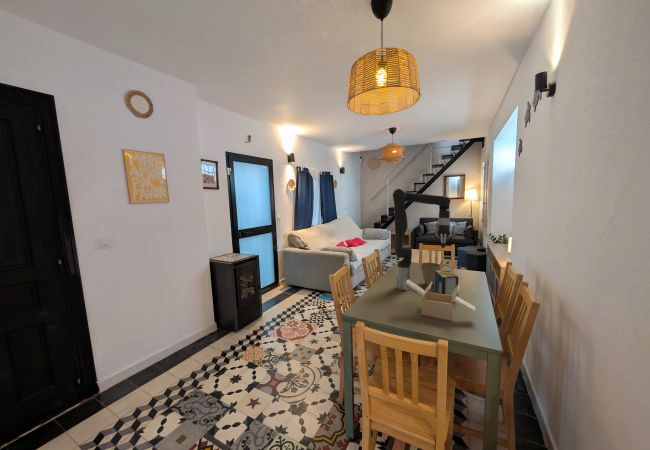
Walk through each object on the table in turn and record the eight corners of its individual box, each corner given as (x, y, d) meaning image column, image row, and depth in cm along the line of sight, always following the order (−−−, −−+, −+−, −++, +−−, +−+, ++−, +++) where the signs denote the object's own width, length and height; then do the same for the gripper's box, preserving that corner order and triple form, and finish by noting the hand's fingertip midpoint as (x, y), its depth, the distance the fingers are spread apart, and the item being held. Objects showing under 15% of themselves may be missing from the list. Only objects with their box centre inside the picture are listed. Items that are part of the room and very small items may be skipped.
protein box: (449, 290, 185) (449, 270, 183) (458, 299, 169) (458, 277, 168) (434, 290, 186) (435, 270, 184) (441, 299, 170) (442, 276, 169)
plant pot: (434, 280, 207) (435, 262, 205) (444, 287, 192) (444, 267, 190) (416, 281, 206) (417, 262, 204) (425, 288, 191) (425, 267, 189)
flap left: (422, 298, 147) (403, 285, 151) (425, 291, 159) (407, 278, 163) (430, 288, 144) (410, 275, 149) (432, 281, 156) (414, 269, 160)
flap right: (458, 291, 137) (482, 304, 133) (458, 283, 149) (480, 295, 144) (451, 302, 140) (474, 315, 135) (451, 293, 151) (473, 305, 147)
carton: (421, 315, 148) (421, 299, 147) (424, 305, 160) (424, 291, 159) (451, 320, 140) (452, 304, 139) (452, 310, 152) (453, 295, 151)
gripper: (433, 224, 181) (432, 248, 182) (454, 224, 174) (453, 249, 176) (434, 223, 187) (433, 246, 189) (454, 223, 181) (453, 247, 183)
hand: (443, 247), depth 183 cm, fingers closed
